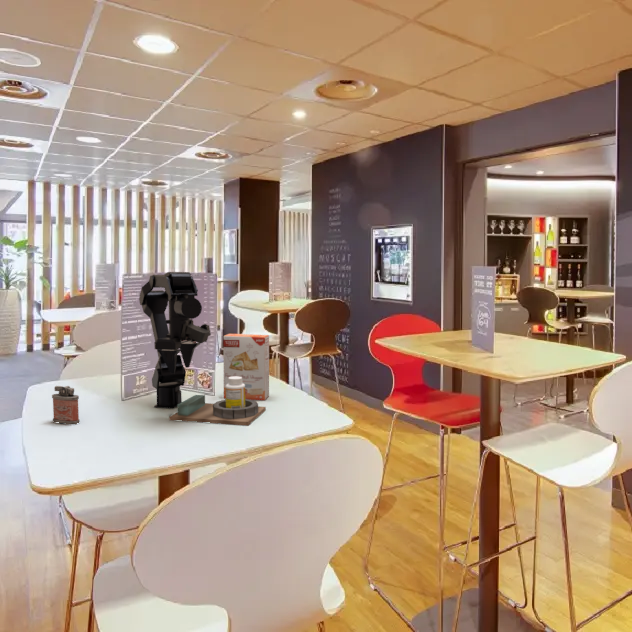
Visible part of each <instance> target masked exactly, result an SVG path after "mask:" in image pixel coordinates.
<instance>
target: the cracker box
mask: <svg viewBox="0 0 632 632" xmlns="http://www.w3.org/2000/svg"><path fill="white" fill-rule="evenodd" d="M232 376H240V377H242V383H243V384H245V399H250V400H254V401H265V400H267V399H268V397H269V396H270V335H269V334H253V333H252V334H250V333H246V334H245V333H227V334H225V335H223V399H226V385H227V384H229V383H228V378H229V377H232Z"/></svg>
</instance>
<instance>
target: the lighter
mask: <svg viewBox="0 0 632 632" xmlns="http://www.w3.org/2000/svg"><path fill="white" fill-rule="evenodd" d="M53 390H54V392H58V393H53V394H52V395H51V398H52V408H53V409H52V411H53V413H52V414H53V418H52V422H53V421H54V422H59V423H66V424H75V425H78V424H77V423H79V422H80V419H79V418H80V416H79V395H78V394H75V388H73V387H71V386H70V385H65V386H63V385H62V386H61V385H56V386H54V389H53ZM54 422H53V423H54ZM66 424H65V425H66ZM79 424H80V423H79Z"/></svg>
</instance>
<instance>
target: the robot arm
mask: <svg viewBox="0 0 632 632" xmlns="http://www.w3.org/2000/svg"><path fill="white" fill-rule="evenodd" d="M154 288H159V289H160V288H163V289H164V290H161V289H160V290H159V289H158V290H153V289H154ZM198 291H199V289H198V287H197V285H196V281H195V279H194V276H192V275H191V273H190V272H187V271H172V272H171V271H168V272H166V273H165V274H152V275H150V276H149V279H148V281H147V282H146V283H145V284H143V286H142V287H141V290H140V293H139V299H138V300H139V304H140V306H141V308H142V311H143V313H144V314H145V315H146V316H147V317H148V318H149V319H150V324H151V328H152V333H153V338H154V350H156V353H157V357H158V359H157V362H156V364H155V367H154V372H153V375H152V377H151V385H152V387H153V388H155V389H156V404H155V405H154V406H153V407H154V408H159V409H175V408H178V404H180V403H181V402H183V400H182V390H181V387H183V386H185V382H186V381H185V380H186V373H187V372H186V369H185V368H190V366H191V363H192V359H193V356H194V351H195V350H196V348H198V346H200V345H201V344H204V343H207V342H208V339H209V337H210V336H211V335H212V333H211V328H210V325H208V324H207V323H204V324H201V325H195V324H194V320H193V319H196V318H198V317H199V316H200V314H201V313H202V310H203V307H202V304H201V302H200V300H199V299H197V298H196V297H198ZM167 307H168V319H167V318H166V313H165V311H166V309H167ZM179 353H180V354H181V355H180V354H179ZM182 361H183V362H182Z"/></svg>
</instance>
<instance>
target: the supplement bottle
mask: <svg viewBox="0 0 632 632" xmlns="http://www.w3.org/2000/svg"><path fill="white" fill-rule="evenodd" d="M228 383H229V384H227V385H226V398H225V400H226V408H232V409H236V408H245V384H243V383H242V377H240V376H232V377H229V378H228Z"/></svg>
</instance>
